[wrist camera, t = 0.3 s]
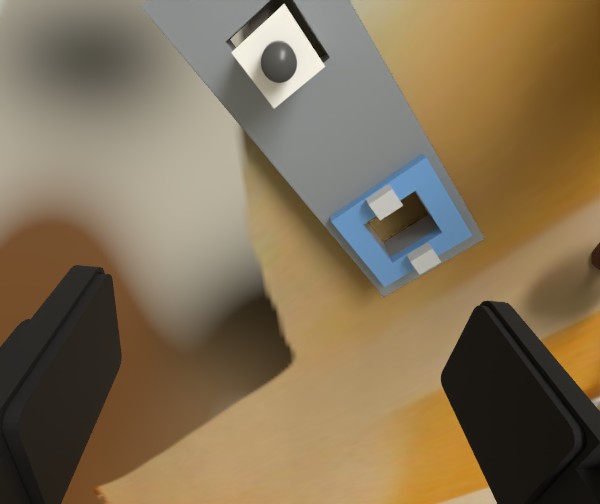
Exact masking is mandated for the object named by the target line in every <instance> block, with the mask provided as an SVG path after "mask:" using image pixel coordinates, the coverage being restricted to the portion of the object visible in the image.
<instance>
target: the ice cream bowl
mask: <svg viewBox="0 0 600 504" xmlns="http://www.w3.org/2000/svg"><path fill="white" fill-rule="evenodd" d="M592 264H593V265H594V266H596V267H597V268H598V269H600V243H599V245H598V246H597V247H596V248H595V250H594V251H593V252H592Z"/></svg>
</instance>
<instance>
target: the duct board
mask: <svg viewBox="0 0 600 504" xmlns="http://www.w3.org/2000/svg"><path fill="white" fill-rule="evenodd" d="M270 1H271V0H146V1H145V2H144V3H143V4H142V5H141V7H142V8H143V9H144V11H145V12H146V13H147V14H148V16H149V17H150V18H151V19H152V20H153V22H154V23H155V24H156V25H157V26H158V28H159V29H160V30H161V31H162V32H163V34H164V35H165V36H166V37H167V38H168V40H169V41H170V42H171V43H172V44H173V45H174V47H175V48H176V49H177V50H178V51H179V52H180V54H181V55H182V56H183V57H184V59H185V60H186V61H187V62H188V63H189V65H190V66H191V67H192V68H193V69H194V71H195V72H196V73H197V74H198V75H199V76H200V78H201V79H202V80H203V81H204V83H205V84H206V85H207V86H208V87H209V88H210V89H211V91H212V92H213V93H214V95H215V96H216V97H217V98H218V99H219V101H220V102H221V103H222V104H223V105H224V107H225V108H226V109H227V110H228V111H229V113H230V114H231V115H232V116H233V117H234V119H235V120H236V121H237V122H238V123H239V125H240V126H241V127H242V128H243V129H244V130H245V132H246V133H247V134H248V135H249V136H250V138H251V139H252V140H253V141H254V142H255V144H256V145H257V146H258V147H259V148H260V150H261V151H262V152H263V153H264V154H265V156H266V157H267V158H268V159H269V160H270V162H271V163H272V164H273V165H274V166H275V168H276V169H277V170H278V171H279V172H280V174H281V175H282V176H283V177H284V178H285V180H286V181H287V182H288V183H289V184H290V186H291V187H292V188H293V189H294V190H295V192H296V193H297V194H298V195H299V196H300V198H301V199H302V200H303V201H304V202H305V204H306V205H307V206H308V207H309V208H310V210H311V211H312V212H313V213H314V214H315V215H316V217H317V218H318V219H319V220H320V221H321V223H322V224H323V225H324V226H325V227H326V229H327V230H328V231H329V232H330V233H331V235H332V236H333V237H334V238H335V239H336V241H337V242H338V243H339V244H340V245H341V247H342V248H343V249H344V250H345V251H346V253H347V254H348V255H349V256H350V257H351V259H352V260H353V261H354V262H355V263H356V265H357V266H358V267H359V268H360V269H361V271H362V272H363V273H364V274H365V275H366V277H367V278H368V279H369V280H370V281H371V283H372V284H373V285H374V286H375V287H376V289H377V290H378V291H379V292H380V293H381V295H382V296H383V297H385V296H387V295H389V294H390V293H392V292H394V291H395V290H397V289H399V288H401V287H402V286H404V285H406V284H408V283H409V282H411V281H413V280H415V279H416V278H418V277H420V276H421V275H423V274H425V273H427V272H428V271H430V270H432V269H434V268H435V267H437V266H439V265H440V264H442V263H444V262H446V261H447V260H449V259H451V258H453V257H454V256H456V255H458V254H460V253H461V252H463V251H465V250H466V249H468V248H470V247H472V246H473V245H475V244H477V243H479V242H480V241H482V240H484V239H485V238H484V236H483V234H482V232H481V231H480V229H479V227H478V225H477V224H476V222H475V220H474V218H473V217H472V215H471V213H470V211H469V210H468V208H467V206H466V204H465V202H464V201H463V199H462V197H461V195H460V194H459V192H458V190H457V188H456V187H455V185H454V183H453V181H452V180H451V178H450V176H449V174H448V173H447V171H446V169H445V167H444V166H443V164H442V162H441V160H440V158H439V157H438V155H437V153H436V151H435V150H434V148H433V146H432V144H431V143H430V141H429V139H428V137H427V136H426V134H425V132H424V130H423V129H422V127H421V125H420V123H419V121H418V120H417V118H416V116H415V114H414V113H413V111H412V109H411V107H410V106H409V104H408V102H407V100H406V99H405V97H404V95H403V93H402V92H401V90H400V88H399V86H398V85H397V83H396V81H395V79H394V77H393V76H392V74H391V72H390V70H389V69H388V67H387V65H386V63H385V62H384V60H383V58H382V56H381V55H380V53H379V51H378V49H377V48H376V46H375V44H374V42H373V41H372V39H371V37H370V35H369V33H368V32H367V30H366V28H365V26H364V25H363V23H362V21H361V19H360V18H359V16H358V14H357V12H356V11H355V9H354V7H353V5H352V4H351V2H350V0H292V2H293V3H294V5H295V6H296V8H297V10H298V11H299V13H300V14H301V16H302V17H303V19H304V21H305V22H306V24H307V25H308V27H309V28H310V30H311V31H312V33H313V35H314V36H315V38H316V39H317V41H318V42H319V44H320V45H321V47H322V49H323V50H324V52H325V53H326V54H325V55H324V56H323V57H322V58H321V61H322V62H323V64H324V65H325V67H324V68H323V69H322V70H320V71H319V72H318V73H317V74H316V75H314V76H313V77H312V78H311V79H310V80H308V81H307V82H306V83H305V84H303V85H302V86H301V87H300V88H299V89H297V90H296V91H295V92H294V93H293V94H291V95H290V96H289V97H288V98H287V99H285V100H284V101H283V102H282V103H281V104H279V105H278V106H277V107H276V108H273V107H272V105H271V104H270V103H269V101H268V100H267V99H266V97H265V96H264V95H263V94H262V92H261V91H260V90H259V88H258V87H257V86H256V84H255V83H254V82H253V80H252V79H251V78H250V77H249V75H248V74H247V73H246V71H245V70H244V69H243V67H242V66H241V65H240V63H239V62H238V61H237V60H236V58H235V57H234V56H233V54H232V53H231V52H232V51H233V50H234V49H236V47H235V46H234V44H233V43H232V42H231V40H230V39H231V38H232V37H233V36H234V35H235V34H236V33H237V32H238V31H239V30H240V29H241V28H243V27H244V26H245V25H246V24H247V23H248V22H249V21H250V20H251V19H252V18H253V17H254V16H255V15H256V14H257V13H259V12H260V11H261V10H262V9H263V8H264V7H265V6H266V5H267V4H268V3H269V2H270ZM413 192H415V194H416V195H417V197H418V198H419V200H420V202H421V203H422V205H423V206H424V208H425V209H426V211H427V213H428V215H426V216H425V217H423V218H422V219H420V220H418V221H417V222H415V223H414V224H412V225H410V226H409V227H407V228H406V229H404V230H402V231H401V232H399V233H398V234H396V235H394V236H393V237H391V238H390V239H388V240H386V241H385V242H382V240H381V239H380V238H379V236H378V235H377V234H376V232H375V231H374V230H373V229H372V227H371V226H370V225H369V223H368V221H370V220H371V219H373V218H374V217H376V216H377V217H378V218H379V220H382V219H383V218H385V217H386V216H388V215H390V214H391V213H393V212H394V211H396V210H397V209H399V208H400V207H402V206H403V204H402V203H401V201H400V200H402V199H403V198H405V197H407V196H408V195H410V194H411V193H413Z"/></svg>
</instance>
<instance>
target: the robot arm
mask: <svg viewBox="0 0 600 504" xmlns="http://www.w3.org/2000/svg"><path fill="white" fill-rule="evenodd" d="M120 364H121V348H120V339H119V330H118V322H117V314H116V306H115V298H114V289H113V281H112V276H111V275H110V274H105V273H104V270H103V268H101V267H90V266H78V265H76V266H73V267H72V268H71V269H70V270H69V272H68V273H67V274H66V275H65V277H64V278H63V279H62V280H61V282H60V283H59V284H58V286H57V287H56V288H55V289H54V291H53V292H52V293H51V294H50V296H49V297H48V298H47V299H46V301H45V302H44V303H43V304H42V306H41V307H40V308H39V309H38V311H37V312H36V313H35V314H34V316H33V317H32V318H31V319H27V320H25V321H23V322H21V323H20V324H19V325H18V326H17V327H16V329H15V330H14V331H13V333H11V335H10V336H9V337H8V339H7V340H6V341H5V342H4V343H3V344H2V346H1V347H0V504H61V502H62V500H63V498H64V496H65V493H66V491H67V489H68V486H69V484H70V482H71V479H72V477H73V475H74V472H75V470H76V468H77V465H78V463H79V461H80V458H81V456H82V454H83V451H84V449H85V447H86V445H87V442H88V440H89V438H90V435H91V433H92V431H93V428H94V426H95V424H96V421H97V419H98V417H99V414H100V412H101V410H102V407H103V405H104V403H105V400H106V398H107V396H108V393H109V391H110V389H111V387H112V384H113V382H114V379H115V377H116V375H117V372H118V370H119V367H120ZM441 383H442V387H443V389H444V391H445V393H446V395H447V397H448V399H449V402H450V404H451V406H452V408H453V410H454V412H455V414H456V417H457V419H458V421H459V423H460V425H461V427H462V429H463V431H464V434H465V436H466V438H467V440H468V442H469V444H470V446H471V448H472V451H473V453H474V455H475V457H476V459H477V461H478V463H479V466H480V468H481V470H482V472H483V474H484V476H485V478H486V480H487V483H488V485H489V487H490V489H491V491H492V493H493V495H494V498H495V500H496V502H497V504H600V411H599V410H598V409H597V408H596V406H595V405H594V404H593V403H592V402H591V400H590V399H589V398H588V397H587V396H586V394H585V393H584V392H583V391H582V390H581V389H580V387H579V386H578V385H577V384H576V383H575V381H574V380H573V379H572V378H571V377H570V375H569V374H568V373H567V372H566V371H565V369H564V368H563V367H562V366H561V365H560V364H559V362H558V361H557V360H556V359H555V358H554V356H553V355H552V354H551V353H550V352H549V350H548V349H547V348H546V347H545V346H544V344H543V343H542V342H541V341H540V340H539V339H538V337H537V336H536V335H535V334H534V333H533V331H532V330H531V329H530V328H529V327H528V325H527V324H526V323H525V322H524V321H523V319H522V318H521V317H520V316H519V315H518V314H517V312H516V311H515V310H514V309H513V308H512V306H511V305H509V304H508V303H505V302H494V301H484V302H482V303H481V304H480V306H477V307H475V309H474V310H473V312H472V314H471V316H470V318H469V320H468V322H467V324H466V326H465V328H464V330H463V332H462V334H461V336H460V338H459V340H458V342H457V344H456V346H455V348H454V350H453V352H452V354H451V356H450V358H449V359H448V361H447V363H446V365H445V367H444V369H443V371H442V374H441Z"/></svg>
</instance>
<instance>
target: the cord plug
mask: <svg viewBox="0 0 600 504" xmlns="http://www.w3.org/2000/svg"><path fill="white" fill-rule="evenodd" d="M231 53H232V54H233V56H234V57H235V58H236V60H237V61H238V62H239V63H240V65H241V66H242V67H243V69H244V70H245V71H246V73H247V74H248V75H249V77H250V78H251V79H252V80H253V82H254V83H255V84H256V86H257V87H258V88H259V90H260V91H261V92H262V94H263V95H264V96H265V97H266V99H267V100H268V101H269V103H270V104H271V105H272V107H273V108H276V107H277V106H278V105H279V104H281V103H282V102H283V101H284V100H285V99H287V98H288V97H289V96H290V95H291V94H293V93H294V92H295V91H296V90H297V89H299V88H300V87H301V86H302V85H303V84H305V83H306V82H307V81H308V80H310V79H311V78H312V77H313V76H314V75H316V74H317V73H318V72H319V71H320V70H322V69H323V68H324V67H325V65H324V64H323V62H322V61H321V59H320V58H319V56H318V54H317V53H316V51H315V50H314V48H313V47H312V45H311V44H310V42H309V41H308V39H307V38H306V36H305V35H304V33H303V31H302V30H301V28H300V27H299V25H298V24H297V22H296V21H295V19H294V18H293V16H292V15H291V13H290V12H289V10H288V8H287V7H286V5H285V4H283V5H282V6H281V7H280V8H279V9H278V10H277V11H276V12H275V13H273V14H272V15H271V16H270V17H269V18H268V19H267V20H266V21H265V22H264V23H263V24H262V25H260V26H259V27H258V28H257V29H256V30H255V31H254V32H253V33H252V34H251V35H250V36H249V37H247V38H246V39H245V40H244V41H243V42H242V43H241V44H240V45H239V46H238V47H237V48H236V49H234V50H233V51H232V52H231Z"/></svg>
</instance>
